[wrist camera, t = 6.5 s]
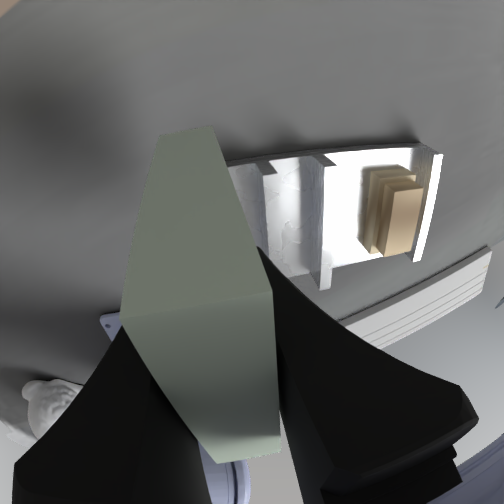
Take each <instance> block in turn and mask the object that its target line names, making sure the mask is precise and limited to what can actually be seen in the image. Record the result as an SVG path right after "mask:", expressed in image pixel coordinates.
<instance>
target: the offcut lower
mask: <svg viewBox="0 0 504 504" xmlns="http://www.w3.org/2000/svg"><path fill="white" fill-rule="evenodd" d="M415 180H416V174H414V173H413V172H411V171H410V170H408V169H407V168H400V169H390V170H379V171H371V175H370V186H369V197H368V207H367V216H366V224H365V232H364V240H363V247H364V248H365V249H366V251H367V252H368V253H369V255H373V254H377V253H380V252H379V251H378V250H377V248H376V243H377V237H378V231H379V224H380V217H381V210H382V202H383V194H384V186H385V184H387V183H395V182H404V181H415Z"/></svg>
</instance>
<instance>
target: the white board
mask: <svg viewBox="0 0 504 504" xmlns="http://www.w3.org/2000/svg"><path fill="white" fill-rule="evenodd" d="M491 254H492V250H491V249H490V248H489V247H488V246H487V247H485V248H484V249H482V250H480V251H479V252H477V253H475V254H473V255H472V256H470V257H468V258H466V259H465V260H463V261H461V262H459V263H458V264H456V265H454V266H452V267H450V268H448V269H447V270H445V271H443V272H441V273H439V274H437V275H435V276H434V277H432V278H430V279H428V280H426V281H424V282H422V283H420V284H418V285H416V286H414V287H412V288H410V289H408V290H406V291H404V292H402V293H400V294H398V295H396V296H394V297H392V298H390V299H388V300H386V301H383V302H381V303H379V304H377V305H375V306H373V307H371V308H368V309H366V310H364V311H362V312H360V313H357V314H355V315H353V316H351V317H348V318H346V319H344V320H341V321H339V322H338V323H340V324H341V325H342V326H344V327H345V328H347V329H348V330H349V331H351V332H352V333H354V334H355V335H357V336H359V337H360V338H362V339H363V340H365V341H366V342H368V343H370V344H371V345H373V346H375V347H377V348H378V349H381V348H384V347H386V346H388V345H390V344H392V343H394V342H396V341H398V340H400V339H402V338H404V337H405V336H407V335H409V334H411V333H413V332H415V331H417V330H419V329H421V328H422V327H424V326H426V325H428V324H430V323H432V322H433V321H435V320H437V319H439V318H440V317H442V316H444V315H446V314H447V313H449V312H451V311H452V310H454V309H456V308H457V307H459V306H461V305H462V304H464V303H466V302H467V301H469V300H470V299H472V298H474V297H475V296H477V295H478V294H479V293H480V292H481V291H482V286H483V283H484V281H485V276H486V274H487V268H488V264H489V262H490V258H491Z"/></svg>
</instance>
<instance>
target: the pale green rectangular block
mask: <svg viewBox="0 0 504 504" xmlns="http://www.w3.org/2000/svg"><path fill="white" fill-rule="evenodd" d="M119 320H120V322H121V324H122V325H123V327H124V329H125V331H126V333H127V334H128V336H129V338H130V340H131V341H132V343H133V345H134V346H135V348H136V350H137V352H138V353H139V355H140V356H141V358H142V360H143V361H144V363H145V365H146V366H147V368H148V369H149V371H150V373H151V374H152V376H153V377H154V379H155V380H156V382H157V383H158V385H159V387H160V388H161V390H162V391H163V393H164V394H165V395H166V397H167V398H168V400H169V401H170V403H171V404H172V406H173V407H174V409H175V410H176V411H177V413H178V414H179V416H180V417H181V418H182V420H183V421H184V422H185V424H186V425H187V427H188V428H189V429H190V431H191V432H192V433H193V435H194V436H195V437H196V438H197V440H198V441H199V442H200V444H201V445H202V446H203V447H204V449H205V450H206V451H207V452H208V454H209V455H210V456H211V457H212V459H213V460H214V461H215V462H216V464H219V463H226V462H232V461H238V460H244V459H249V458H254V457H259V456H264V455H269V454H273V453H278V452H281V434H280V415H279V394H278V376H277V358H276V341H275V325H274V309H273V294H272V288H271V286H270V283H269V280H268V277H267V275H266V272H265V269H264V266H263V264H262V261H261V258H260V255H259V253H258V250H257V247H256V244H255V242H254V239H253V236H252V233H251V231H250V228H249V225H248V222H247V220H246V217H245V214H244V211H243V209H242V206H241V203H240V201H239V198H238V195H237V192H236V190H235V187H234V184H233V181H232V179H231V176H230V173H229V171H228V168H227V165H226V162H225V160H224V157H223V154H222V152H221V149H220V146H219V143H218V141H217V138H216V135H215V133H214V130H213V127H212V126H207V127H201V128H195V129H190V130H185V131H180V132H175V133H170V134H165V135H161V136H159V139H158V142H157V145H156V149H155V152H154V156H153V159H152V163H151V166H150V170H149V174H148V177H147V181H146V185H145V189H144V193H143V197H142V201H141V205H140V209H139V213H138V218H137V222H136V226H135V231H134V236H133V240H132V245H131V250H130V255H129V260H128V266H127V271H126V277H125V283H124V289H123V295H122V301H121V308H120V315H119Z"/></svg>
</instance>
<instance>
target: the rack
mask: <svg viewBox="0 0 504 504" xmlns="http://www.w3.org/2000/svg"><path fill="white" fill-rule="evenodd" d="M441 162H442V154H440V153H439V152H437V151H435V150H433V149H432V148H430V147H428V146H426V145H424V144H423V143H395V144H376V145H360V146H347V147H335V148H325V149H315V150H305V151H297V152H288V153H280V154H273V155H265V156H258V157H251V158H245V159H238V160H232V161H226V165H227V168H228V171H229V173H230V176H231V179H232V181H233V184H234V187H235V190H236V192H237V195H238V198H239V201H240V203H241V206H242V209H243V211H244V214H245V217H246V220H247V222H248V225H249V228H250V231H251V233H252V236H253V239H254V242H255V244H256V246H258V247H260V248H261V249H262V250H263V252H264V253H265V254H266V255H267V257H268V258H269V259H270V260H271V261H272V262H273V264H274V265H275V266H276V267H277V268H278V269H279V270H280V271H281V272H282V273H283V274H284V275H285V276H286V277H287V278H288V277H292V276H297V275H302V274H306V273H311V275H312V277H313V279H314V281H315V283H316V285H317V286H318V288H319V290H324V289H328V288H330V285H331V275H332V268H334V267H338V266H343V265H347V264H352V263H356V262H360V261H365V260H369V259H373V258H378V257H382V254H381V253H377V254H373V255H369V253H368V252H367V251H366V249H365V248H364V247H363V240H364V232H365V224H366V216H367V207H368V197H369V186H370V175H371V171H379V170H390V169H400V168H407V169H408V170H410V171H411V172H413V173H414V174H416V180H415V182H416V183H417V184H419V185H420V186H421V187H423V188H424V189H423V195H422V200H421V206H420V211H419V216H418V221H417V225H416V230H415V235H414V239H413V243H412V247H411V251H408V252H404V253H405V254H406V255H407V256H408V257H409V258H410V260H411V261H412V262H415V261H419V260H420V259H421V256H422V252H423V248H424V244H425V241H426V237H427V232H428V228H429V224H430V220H431V215H432V211H433V206H434V201H435V196H436V191H437V186H438V180H439V175H440V169H441Z"/></svg>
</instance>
